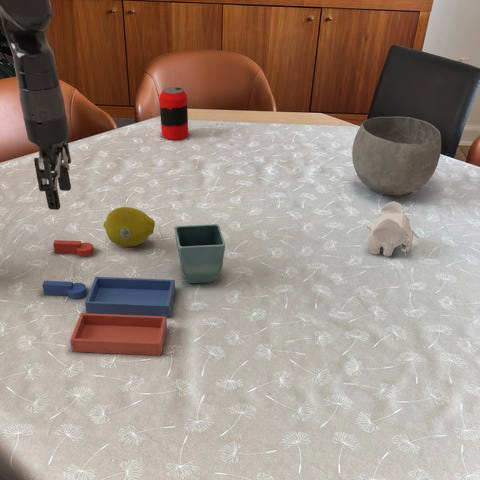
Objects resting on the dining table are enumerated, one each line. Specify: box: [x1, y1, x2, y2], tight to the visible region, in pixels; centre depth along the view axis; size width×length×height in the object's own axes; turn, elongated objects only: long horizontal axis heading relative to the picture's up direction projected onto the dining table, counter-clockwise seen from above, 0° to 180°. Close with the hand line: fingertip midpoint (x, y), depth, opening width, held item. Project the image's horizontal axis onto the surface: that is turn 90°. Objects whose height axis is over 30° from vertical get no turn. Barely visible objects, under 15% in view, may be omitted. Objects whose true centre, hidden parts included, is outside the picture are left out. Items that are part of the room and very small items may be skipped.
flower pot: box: [173, 223, 226, 284], centre depth 126 cm, size 9×9×9 cm
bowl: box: [351, 116, 442, 196], centre depth 156 cm, size 20×20×15 cm
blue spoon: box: [41, 280, 88, 300], centre depth 123 cm, size 8×4×2 cm, turn 88°
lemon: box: [103, 206, 156, 248], centre depth 136 cm, size 11×8×8 cm
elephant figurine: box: [363, 201, 421, 257], centre depth 136 cm, size 10×12×9 cm
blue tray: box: [84, 276, 176, 318], centre depth 121 cm, size 15×9×2 cm, turn 88°
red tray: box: [69, 312, 168, 356], centre depth 113 cm, size 15×8×2 cm, turn 88°
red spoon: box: [52, 239, 95, 258], centre depth 135 cm, size 8×4×2 cm, turn 88°
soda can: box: [158, 86, 189, 141], centre depth 181 cm, size 8×8×12 cm
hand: (60, 199), depth 128 cm, fingers open, 8 cm apart
